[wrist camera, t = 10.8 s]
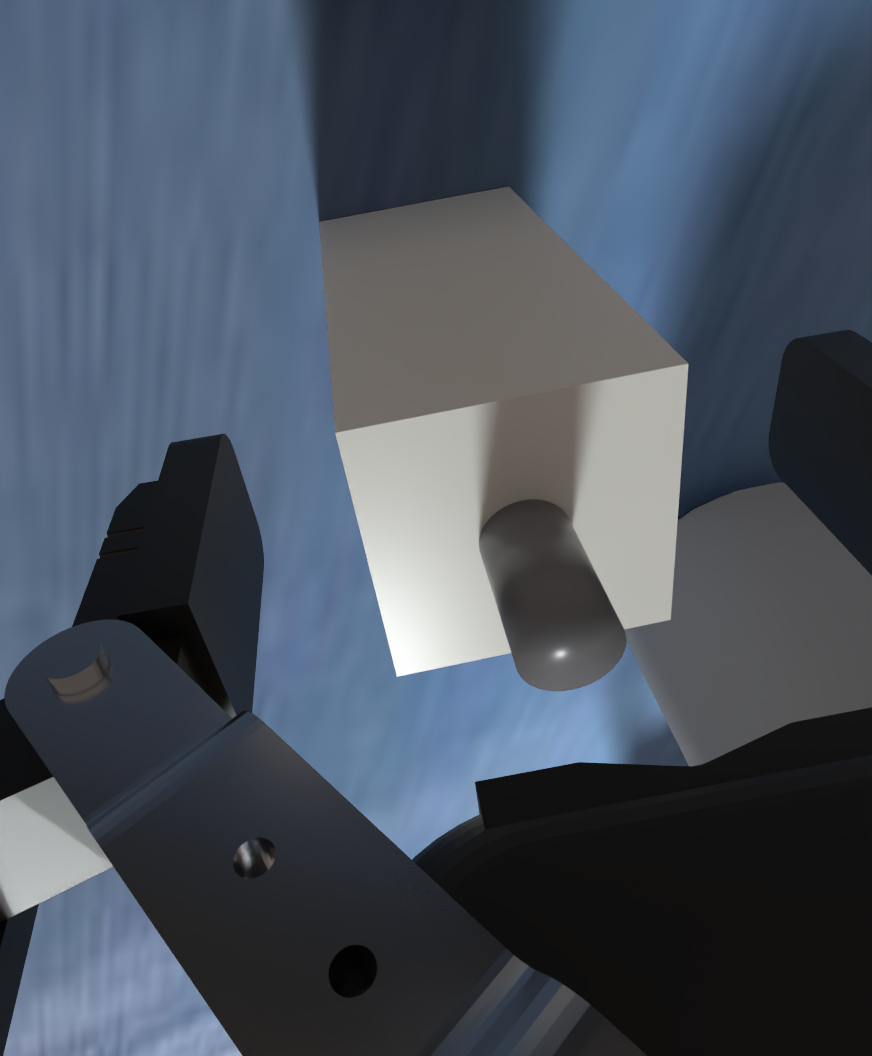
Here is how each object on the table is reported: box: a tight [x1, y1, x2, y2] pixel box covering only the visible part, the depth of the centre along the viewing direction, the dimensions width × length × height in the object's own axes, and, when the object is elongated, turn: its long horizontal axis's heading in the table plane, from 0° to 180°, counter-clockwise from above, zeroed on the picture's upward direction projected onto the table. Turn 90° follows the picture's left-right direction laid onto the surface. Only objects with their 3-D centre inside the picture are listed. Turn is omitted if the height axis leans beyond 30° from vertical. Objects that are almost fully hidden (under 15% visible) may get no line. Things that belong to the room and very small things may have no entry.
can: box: [624, 482, 872, 766], centre depth 18 cm, size 8×8×12 cm
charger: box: [319, 186, 689, 691], centre depth 12 cm, size 4×4×11 cm
